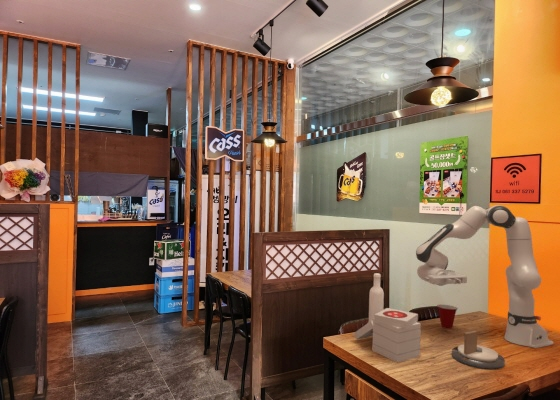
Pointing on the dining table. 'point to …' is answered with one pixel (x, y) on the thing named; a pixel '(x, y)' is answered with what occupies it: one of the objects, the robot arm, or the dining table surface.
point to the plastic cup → (447, 315)
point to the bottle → (375, 298)
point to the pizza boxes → (393, 334)
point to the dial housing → (478, 364)
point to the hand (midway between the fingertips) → (457, 282)
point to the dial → (476, 349)
